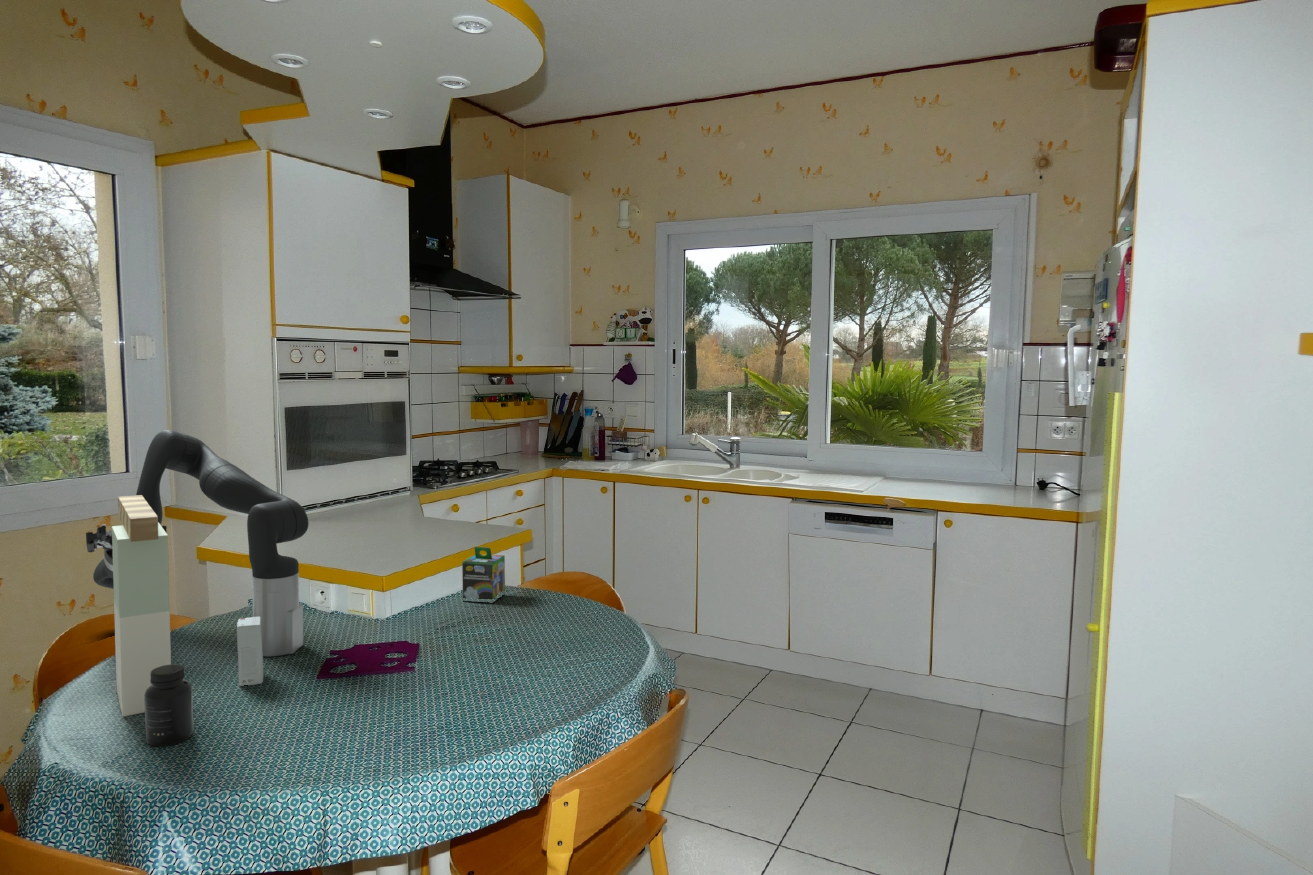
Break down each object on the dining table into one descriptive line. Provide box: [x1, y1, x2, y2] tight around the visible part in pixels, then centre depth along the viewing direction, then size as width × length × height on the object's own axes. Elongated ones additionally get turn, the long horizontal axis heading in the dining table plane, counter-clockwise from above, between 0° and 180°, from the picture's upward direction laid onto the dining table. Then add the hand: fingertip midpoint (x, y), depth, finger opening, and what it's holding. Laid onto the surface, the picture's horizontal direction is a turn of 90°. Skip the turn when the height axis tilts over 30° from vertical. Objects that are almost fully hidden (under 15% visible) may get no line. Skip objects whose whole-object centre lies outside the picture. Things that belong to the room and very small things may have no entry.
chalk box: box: [461, 546, 506, 599], centre depth 215 cm, size 9×9×15 cm
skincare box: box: [236, 616, 264, 687], centre depth 155 cm, size 6×4×12 cm
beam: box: [117, 494, 158, 542], centre depth 146 cm, size 28×4×4 cm, turn 38°
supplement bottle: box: [144, 663, 194, 747], centre depth 130 cm, size 7×7×12 cm
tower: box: [111, 522, 172, 717], centre depth 144 cm, size 14×8×32 cm, turn 38°
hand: (129, 526), depth 161 cm, fingers open, 8 cm apart
